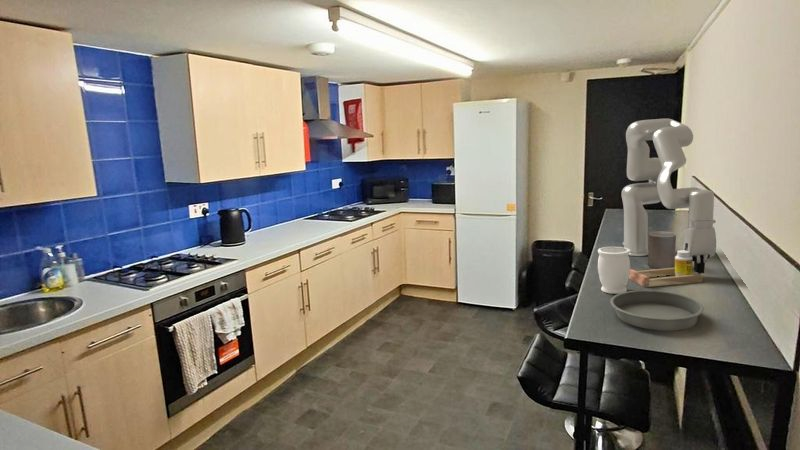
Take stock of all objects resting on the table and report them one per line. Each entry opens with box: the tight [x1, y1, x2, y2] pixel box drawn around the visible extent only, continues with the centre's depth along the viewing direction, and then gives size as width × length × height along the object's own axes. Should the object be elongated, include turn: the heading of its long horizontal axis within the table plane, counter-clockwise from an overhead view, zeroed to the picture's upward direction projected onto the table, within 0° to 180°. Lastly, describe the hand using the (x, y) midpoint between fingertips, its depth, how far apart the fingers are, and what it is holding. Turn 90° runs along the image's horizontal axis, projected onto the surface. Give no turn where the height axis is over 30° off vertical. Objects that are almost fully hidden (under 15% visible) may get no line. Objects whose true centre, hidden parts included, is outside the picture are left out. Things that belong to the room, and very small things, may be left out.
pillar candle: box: [647, 230, 677, 269], centre depth 185 cm, size 10×10×15 cm
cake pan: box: [610, 289, 705, 331], centre depth 139 cm, size 25×25×4 cm
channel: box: [628, 267, 703, 288], centre depth 170 cm, size 12×21×4 cm, turn 92°
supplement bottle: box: [674, 249, 693, 276], centre depth 170 cm, size 6×6×10 cm
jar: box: [597, 246, 631, 295], centre depth 163 cm, size 11×10×15 cm
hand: (699, 272), depth 171 cm, fingers closed
